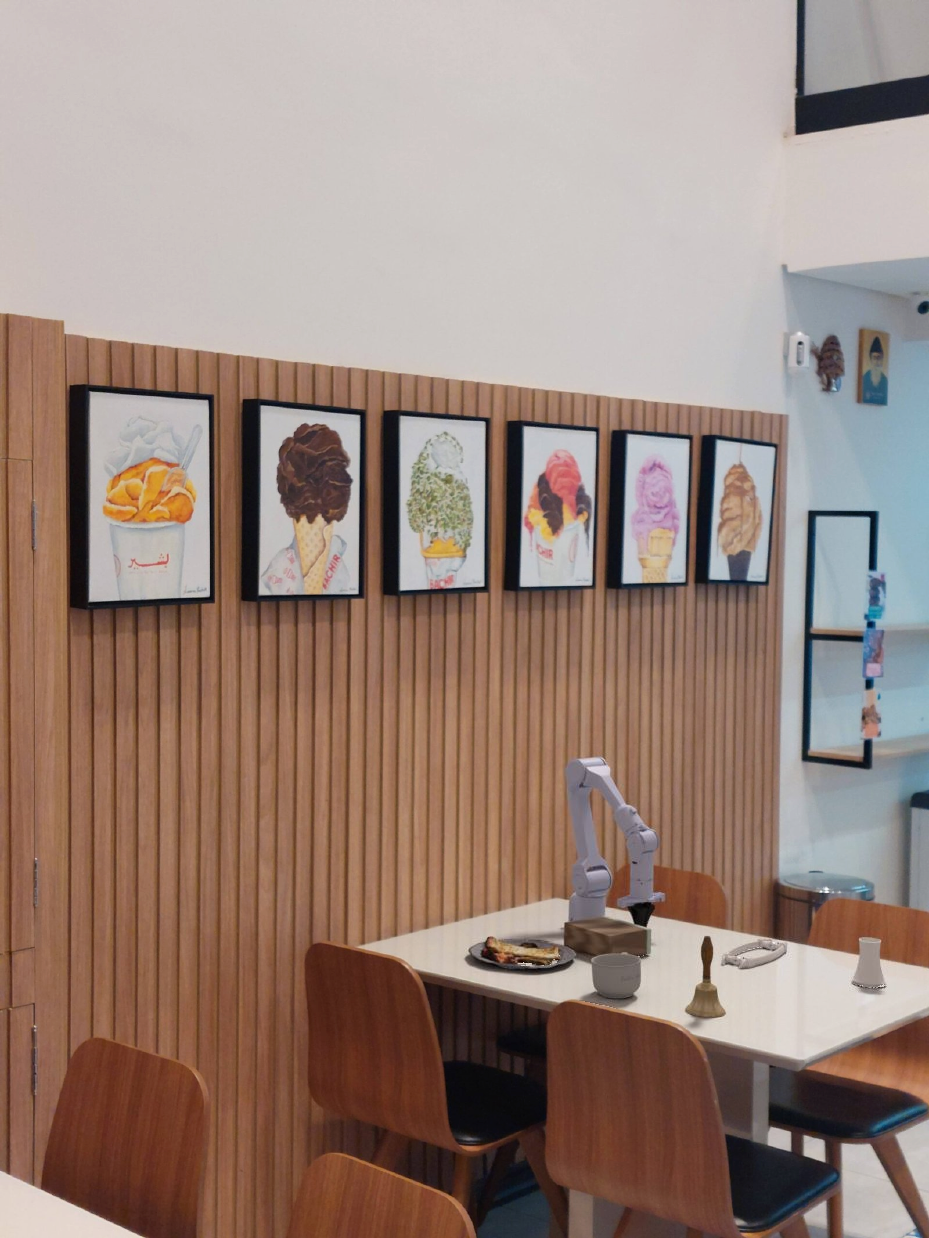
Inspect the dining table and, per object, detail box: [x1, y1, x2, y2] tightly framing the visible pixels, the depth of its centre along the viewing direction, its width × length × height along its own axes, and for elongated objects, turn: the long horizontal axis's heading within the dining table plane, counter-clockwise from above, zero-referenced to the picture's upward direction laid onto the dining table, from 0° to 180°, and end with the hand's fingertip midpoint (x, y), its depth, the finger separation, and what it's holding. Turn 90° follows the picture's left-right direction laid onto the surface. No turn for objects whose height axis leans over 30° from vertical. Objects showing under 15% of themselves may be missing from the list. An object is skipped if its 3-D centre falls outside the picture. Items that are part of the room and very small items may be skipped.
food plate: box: [468, 935, 577, 970], centre depth 338 cm, size 25×23×4 cm
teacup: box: [590, 952, 642, 999], centre depth 312 cm, size 14×11×8 cm
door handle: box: [721, 937, 788, 970], centre depth 345 cm, size 3×10×25 cm
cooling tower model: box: [851, 936, 887, 989], centre depth 324 cm, size 8×8×10 cm
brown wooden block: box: [563, 916, 647, 959], centre depth 346 cm, size 16×12×6 cm
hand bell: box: [685, 935, 726, 1019], centre depth 300 cm, size 8×8×16 cm
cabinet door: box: [602, 915, 652, 955], centre depth 351 cm, size 17×2×6 cm, turn 37°
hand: (640, 932), depth 356 cm, fingers closed
